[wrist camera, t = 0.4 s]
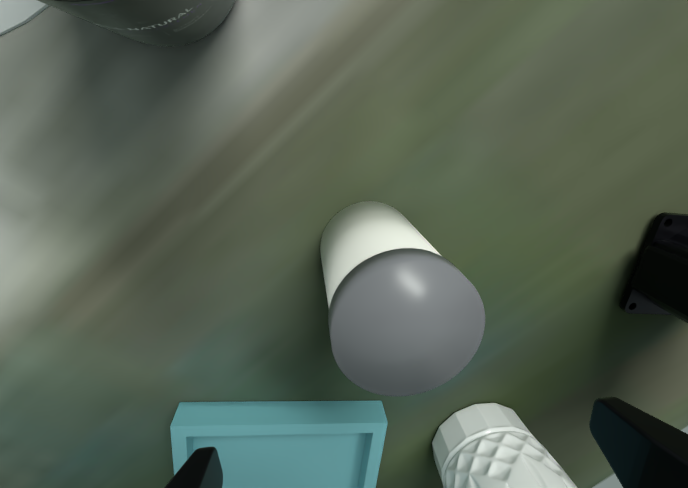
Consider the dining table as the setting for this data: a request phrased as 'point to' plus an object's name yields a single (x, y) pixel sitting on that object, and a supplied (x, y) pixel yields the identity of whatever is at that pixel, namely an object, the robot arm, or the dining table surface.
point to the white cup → (493, 452)
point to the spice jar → (395, 303)
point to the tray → (285, 441)
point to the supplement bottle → (151, 18)
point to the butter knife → (18, 13)
